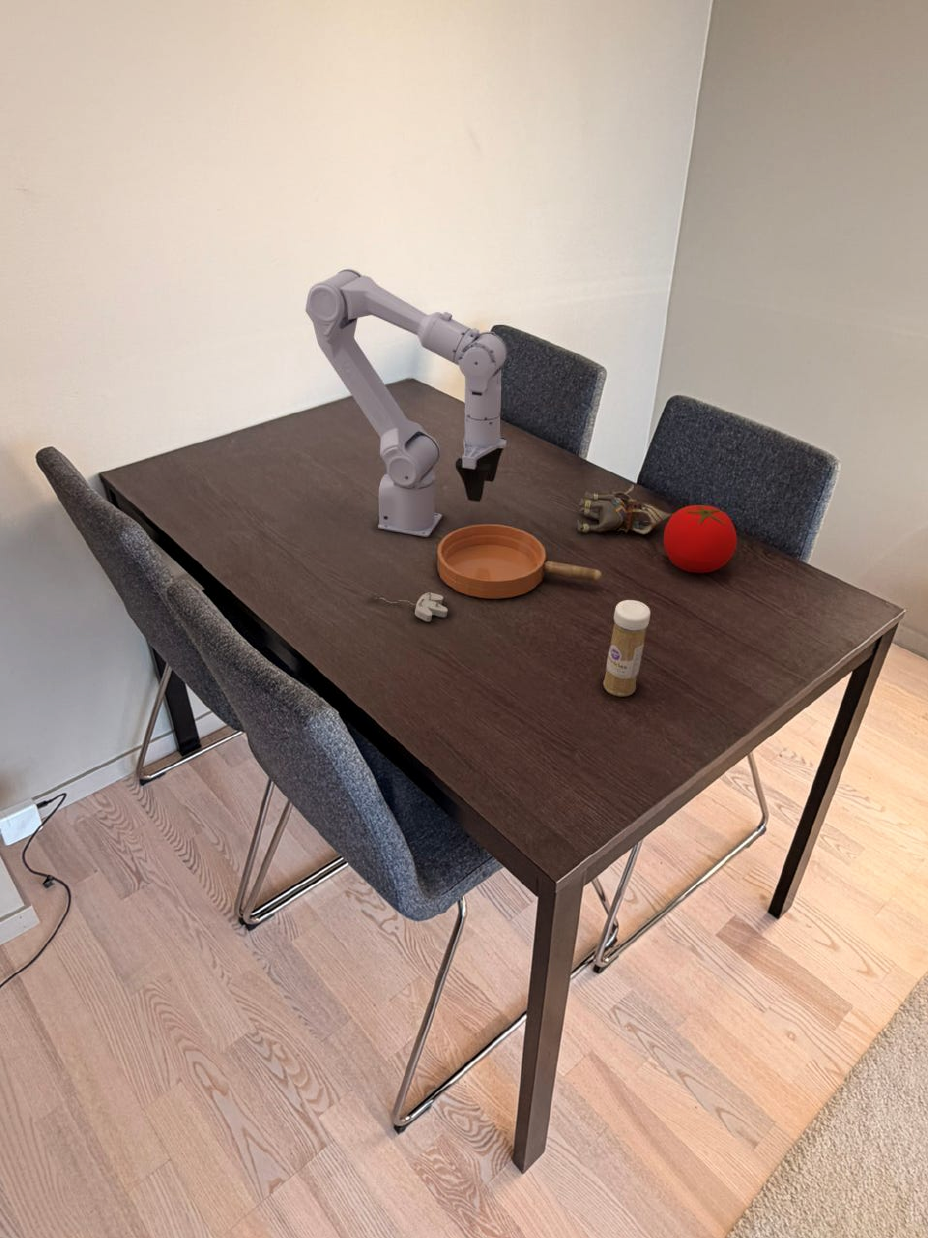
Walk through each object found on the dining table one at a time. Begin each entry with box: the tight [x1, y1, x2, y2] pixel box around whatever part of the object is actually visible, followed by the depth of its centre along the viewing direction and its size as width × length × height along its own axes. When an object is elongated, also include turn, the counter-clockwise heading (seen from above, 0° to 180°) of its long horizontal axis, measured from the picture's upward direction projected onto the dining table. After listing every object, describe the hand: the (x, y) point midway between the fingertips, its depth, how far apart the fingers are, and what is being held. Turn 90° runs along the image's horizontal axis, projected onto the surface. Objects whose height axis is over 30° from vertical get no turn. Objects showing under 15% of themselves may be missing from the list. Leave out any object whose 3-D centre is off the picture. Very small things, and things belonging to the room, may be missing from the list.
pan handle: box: [543, 560, 603, 583], centre depth 140 cm, size 10×2×2 cm, turn 73°
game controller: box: [373, 592, 448, 623], centre depth 133 cm, size 6×12×3 cm, turn 89°
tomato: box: [663, 503, 738, 574], centre depth 144 cm, size 11×12×10 cm
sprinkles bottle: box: [602, 599, 651, 698], centre depth 117 cm, size 5×5×13 cm
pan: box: [436, 523, 547, 600], centre depth 143 cm, size 18×18×4 cm
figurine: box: [576, 484, 675, 535], centre depth 155 cm, size 20×6×17 cm
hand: (481, 490), depth 147 cm, fingers open, 7 cm apart
